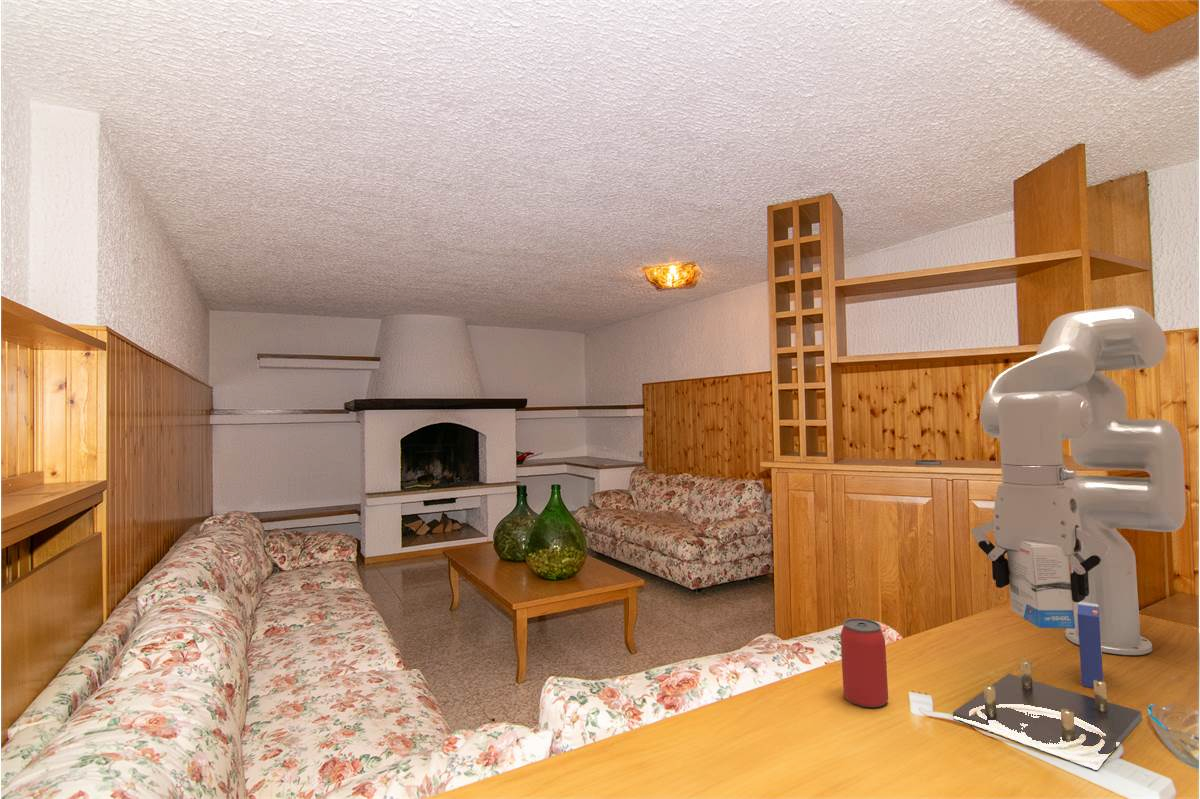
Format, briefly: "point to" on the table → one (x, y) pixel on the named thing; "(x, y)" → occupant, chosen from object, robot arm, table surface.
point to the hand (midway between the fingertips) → (1039, 592)
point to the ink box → (1041, 585)
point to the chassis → (1070, 704)
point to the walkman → (1089, 643)
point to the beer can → (864, 663)
